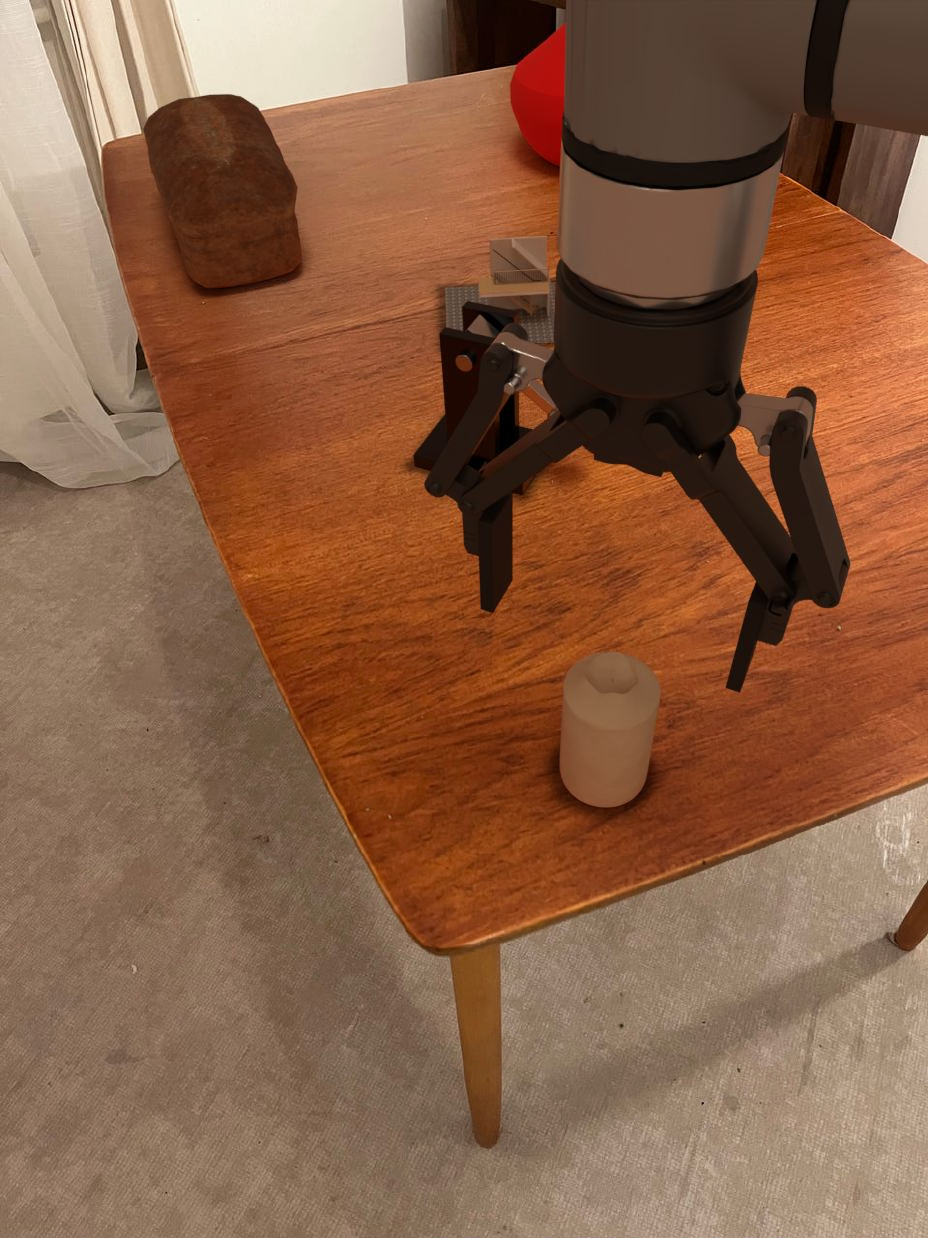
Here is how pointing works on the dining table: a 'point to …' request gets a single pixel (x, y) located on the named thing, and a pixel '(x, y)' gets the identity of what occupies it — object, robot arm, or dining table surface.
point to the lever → (534, 388)
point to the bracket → (471, 391)
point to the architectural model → (512, 287)
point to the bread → (224, 190)
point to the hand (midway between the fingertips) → (613, 632)
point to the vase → (541, 96)
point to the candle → (607, 727)
